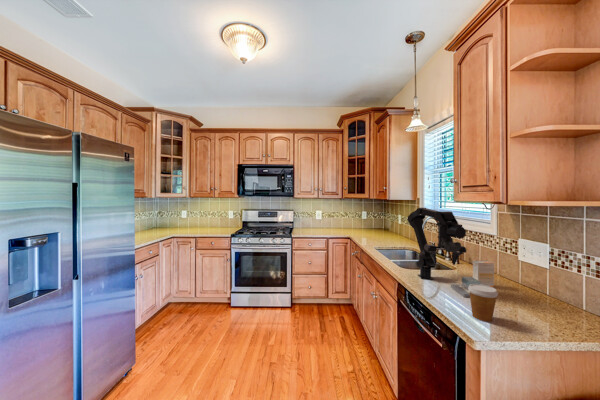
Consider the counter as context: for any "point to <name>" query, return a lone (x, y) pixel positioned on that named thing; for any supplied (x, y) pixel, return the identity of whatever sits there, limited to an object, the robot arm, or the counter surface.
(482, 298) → the disposable coffee cup
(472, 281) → the block
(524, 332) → the counter surface
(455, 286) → the stand
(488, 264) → the supplement box
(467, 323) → the counter surface
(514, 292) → the counter surface
